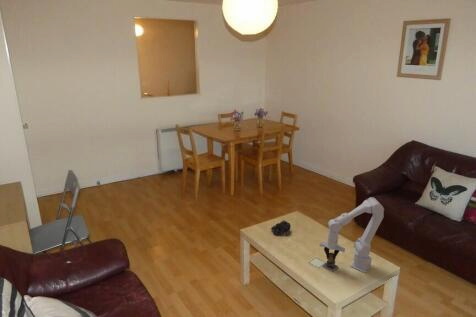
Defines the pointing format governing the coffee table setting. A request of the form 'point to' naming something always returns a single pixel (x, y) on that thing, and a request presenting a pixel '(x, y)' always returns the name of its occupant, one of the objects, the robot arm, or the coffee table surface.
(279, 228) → the crystal cluster
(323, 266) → the ink pad
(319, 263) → the sheet
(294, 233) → the coffee table surface
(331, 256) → the stamp
